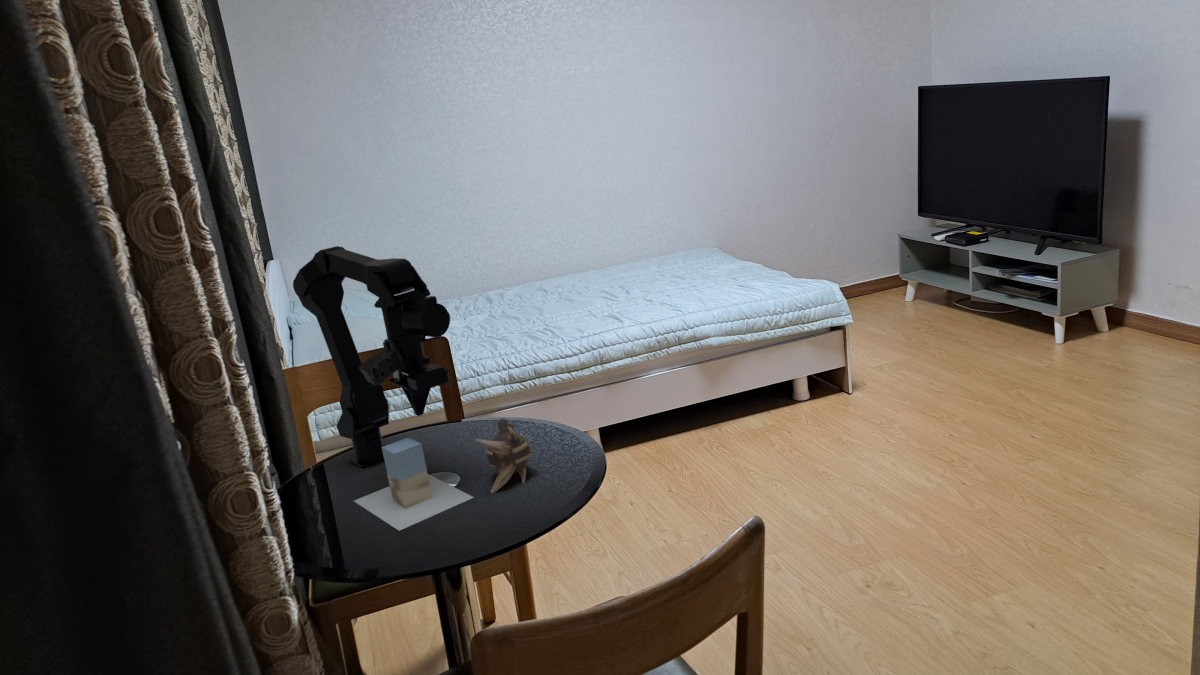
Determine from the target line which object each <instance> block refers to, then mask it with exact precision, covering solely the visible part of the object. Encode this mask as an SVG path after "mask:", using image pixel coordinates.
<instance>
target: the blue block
mask: <svg viewBox="0 0 1200 675" xmlns="http://www.w3.org/2000/svg"><path fill="white" fill-rule="evenodd" d="M382 451H383V456H384V460H383V461H384V464H385V469H386V472H387V474H388V475H390V476H392V477H394V478H395V479H397V480H399V481H403V480H405V479H408V478H410V477H412V476H415V475H417V474H420V473H422V472H425V471H427V472H428V468H427V463H426V459H425V455H424V454H425V452H424V450H423V445H422V442H419V441H417V440H414V439H413V438H411V437H405V438H403V439H399V440H398V441H395V442H392V443H389V444H386V445H384V447H382ZM387 474H386V475H387Z"/></svg>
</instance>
